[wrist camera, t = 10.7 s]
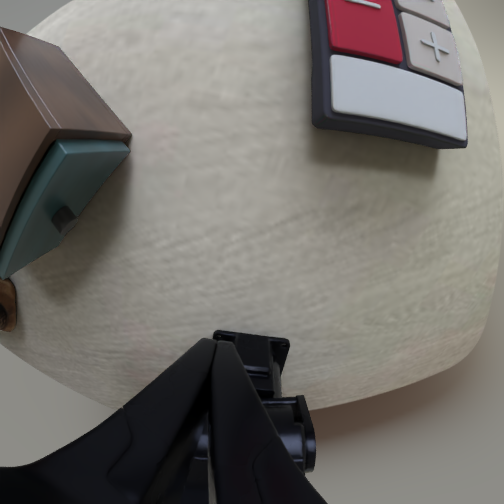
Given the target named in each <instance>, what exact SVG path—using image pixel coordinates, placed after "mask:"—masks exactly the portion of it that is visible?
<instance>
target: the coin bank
mask: <svg viewBox="0 0 504 504" xmlns="http://www.w3.org/2000/svg"><path fill="white" fill-rule="evenodd" d="M15 313H16V305H15V288H14V286H13V284H12V283H11V281H10V280H9V279H8V278H6V279H4V280H2V278H1V277H0V330H3V331H7V332H11V331H12V330H13V329H14V328H15V325H16V314H15Z"/></svg>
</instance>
